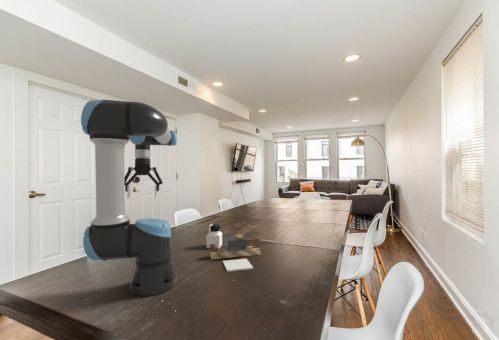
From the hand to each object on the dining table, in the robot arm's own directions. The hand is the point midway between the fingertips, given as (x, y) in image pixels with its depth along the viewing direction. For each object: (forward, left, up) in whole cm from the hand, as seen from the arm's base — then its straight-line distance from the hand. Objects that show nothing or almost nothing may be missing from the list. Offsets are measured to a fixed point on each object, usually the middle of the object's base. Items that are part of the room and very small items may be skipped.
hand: (142, 197), depth 129 cm
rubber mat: (-37, -44, -27) cm, 64 cm away
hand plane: (-24, -46, -27) cm, 58 cm away
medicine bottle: (-7, -38, -27) cm, 47 cm away
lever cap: (-24, -46, -24) cm, 57 cm away
